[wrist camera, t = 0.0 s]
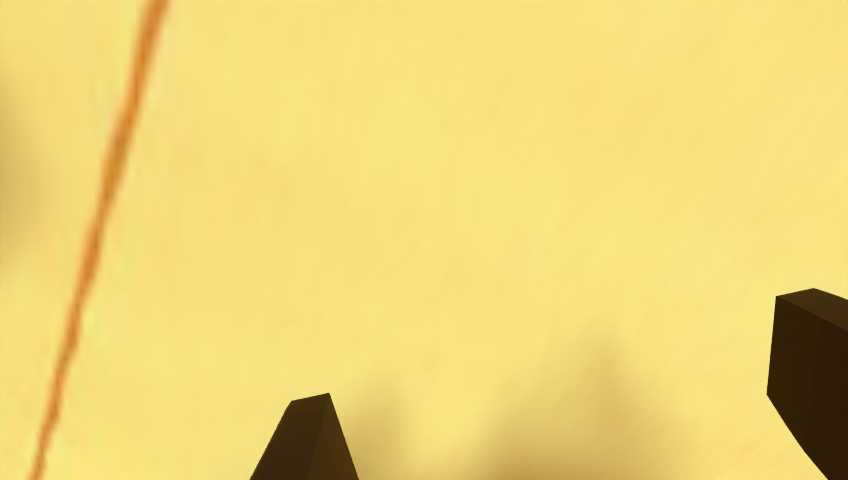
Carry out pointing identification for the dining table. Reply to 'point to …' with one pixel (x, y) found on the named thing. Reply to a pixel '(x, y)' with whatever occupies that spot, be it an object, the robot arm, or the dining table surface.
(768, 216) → the dining table surface
